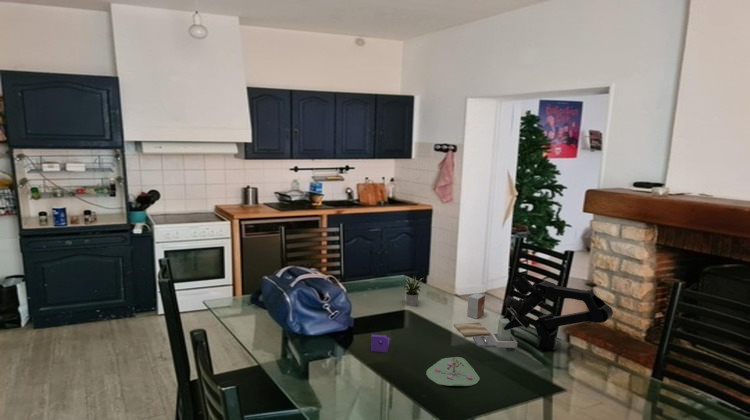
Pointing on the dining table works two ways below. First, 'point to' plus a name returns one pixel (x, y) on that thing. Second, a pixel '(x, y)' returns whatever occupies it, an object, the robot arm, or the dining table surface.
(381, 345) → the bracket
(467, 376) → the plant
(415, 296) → the house plant
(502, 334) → the block
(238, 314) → the dining table surface
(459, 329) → the oak pad
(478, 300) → the small box
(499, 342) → the equipment case
